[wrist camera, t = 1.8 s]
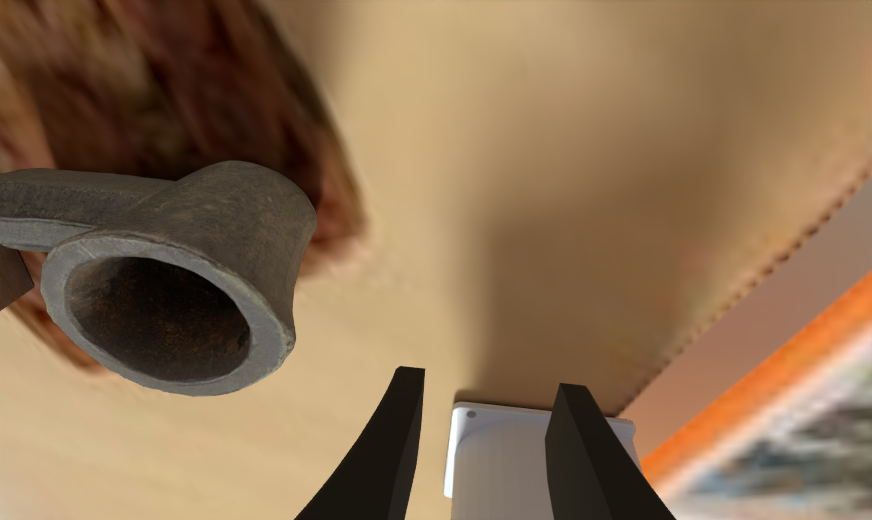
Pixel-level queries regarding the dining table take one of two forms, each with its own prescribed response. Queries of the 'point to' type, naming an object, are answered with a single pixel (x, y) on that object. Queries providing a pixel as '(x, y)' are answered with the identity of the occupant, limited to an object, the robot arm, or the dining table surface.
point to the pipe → (167, 268)
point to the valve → (12, 277)
